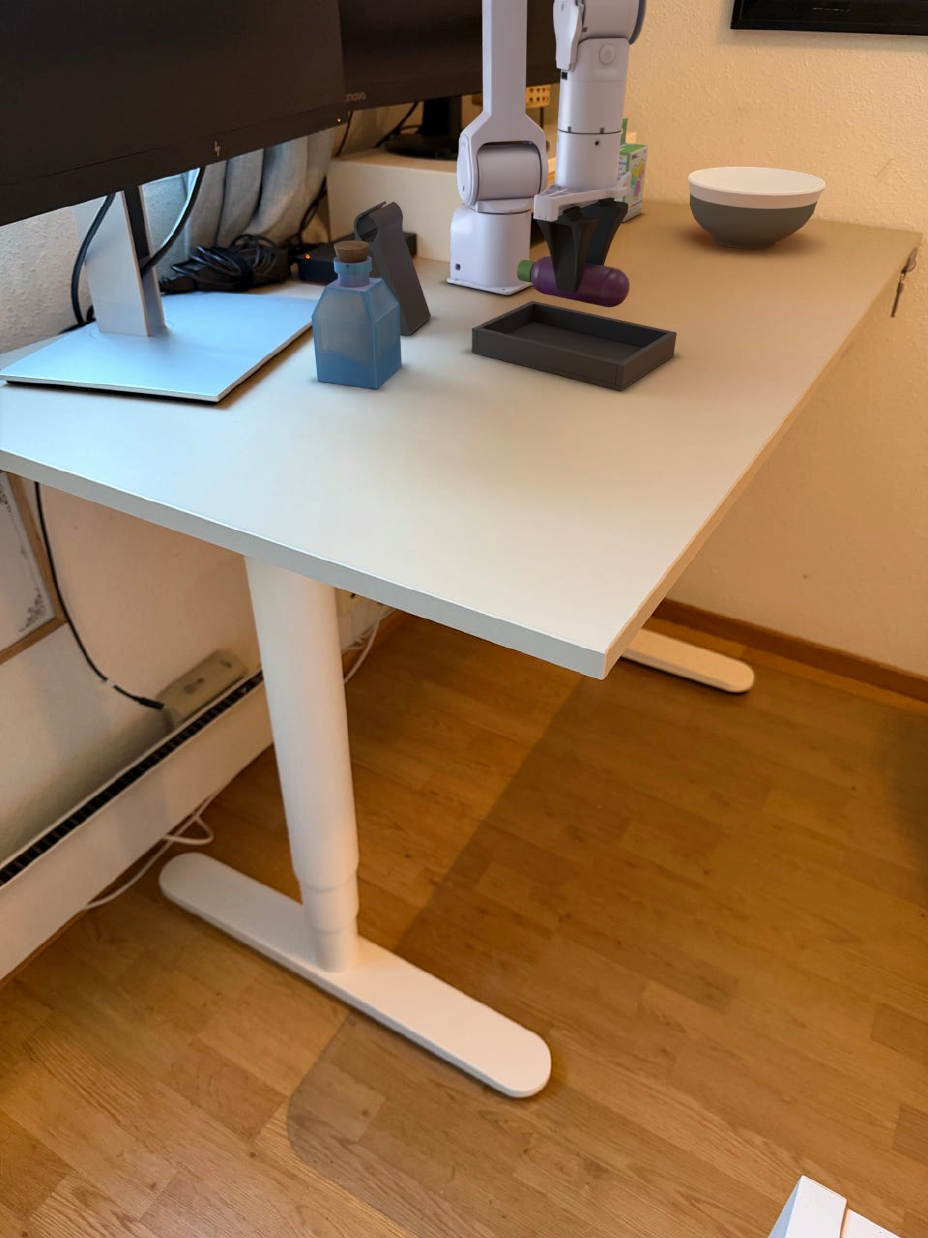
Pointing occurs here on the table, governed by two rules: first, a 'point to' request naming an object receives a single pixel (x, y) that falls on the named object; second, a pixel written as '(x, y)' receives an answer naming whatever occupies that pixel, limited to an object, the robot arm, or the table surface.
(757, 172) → the bowl
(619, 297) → the eggplant
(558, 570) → the table surface
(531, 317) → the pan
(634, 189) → the green white box
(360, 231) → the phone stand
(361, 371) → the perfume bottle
